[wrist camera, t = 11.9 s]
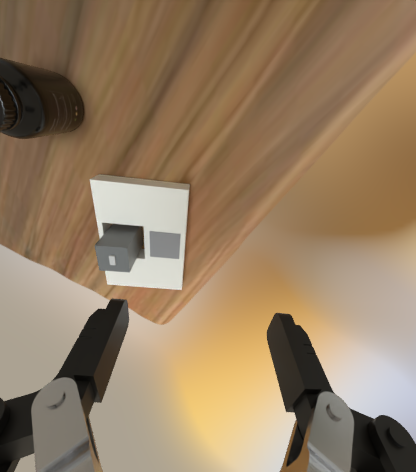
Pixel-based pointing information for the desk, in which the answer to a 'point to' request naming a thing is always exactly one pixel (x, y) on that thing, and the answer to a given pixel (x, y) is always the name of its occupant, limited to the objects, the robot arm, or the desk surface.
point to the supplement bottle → (36, 102)
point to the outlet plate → (146, 226)
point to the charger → (119, 247)
